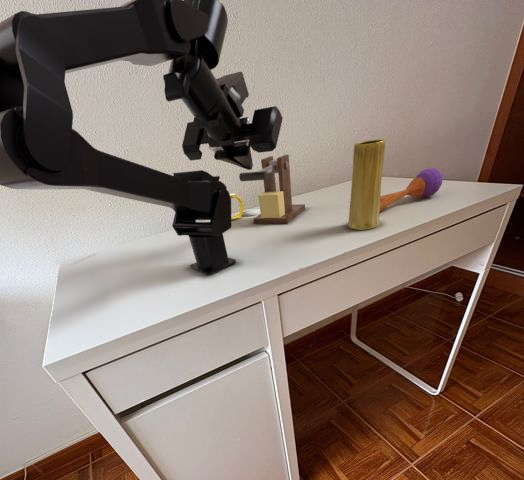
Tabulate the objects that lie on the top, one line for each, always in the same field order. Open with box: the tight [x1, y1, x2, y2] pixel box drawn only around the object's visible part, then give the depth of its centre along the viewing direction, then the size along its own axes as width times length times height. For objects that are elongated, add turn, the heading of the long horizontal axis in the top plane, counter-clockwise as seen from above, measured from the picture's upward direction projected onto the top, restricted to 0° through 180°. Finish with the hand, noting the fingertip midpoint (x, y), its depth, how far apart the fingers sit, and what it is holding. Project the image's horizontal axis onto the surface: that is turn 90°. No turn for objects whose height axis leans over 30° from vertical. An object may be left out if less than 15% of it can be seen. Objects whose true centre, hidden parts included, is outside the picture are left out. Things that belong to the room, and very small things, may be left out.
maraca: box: [379, 167, 444, 212], centre depth 67 cm, size 6×6×20 cm
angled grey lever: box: [238, 158, 278, 182], centre depth 64 cm, size 13×6×2 cm, turn 153°
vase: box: [347, 138, 386, 231], centre depth 56 cm, size 6×6×14 cm
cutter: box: [253, 154, 306, 225], centre depth 70 cm, size 12×9×13 cm
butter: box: [257, 190, 285, 218], centre depth 69 cm, size 3×5×5 cm, turn 63°
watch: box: [229, 193, 245, 221], centre depth 77 cm, size 6×3×6 cm, turn 125°
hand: (250, 167), depth 59 cm, fingers closed
